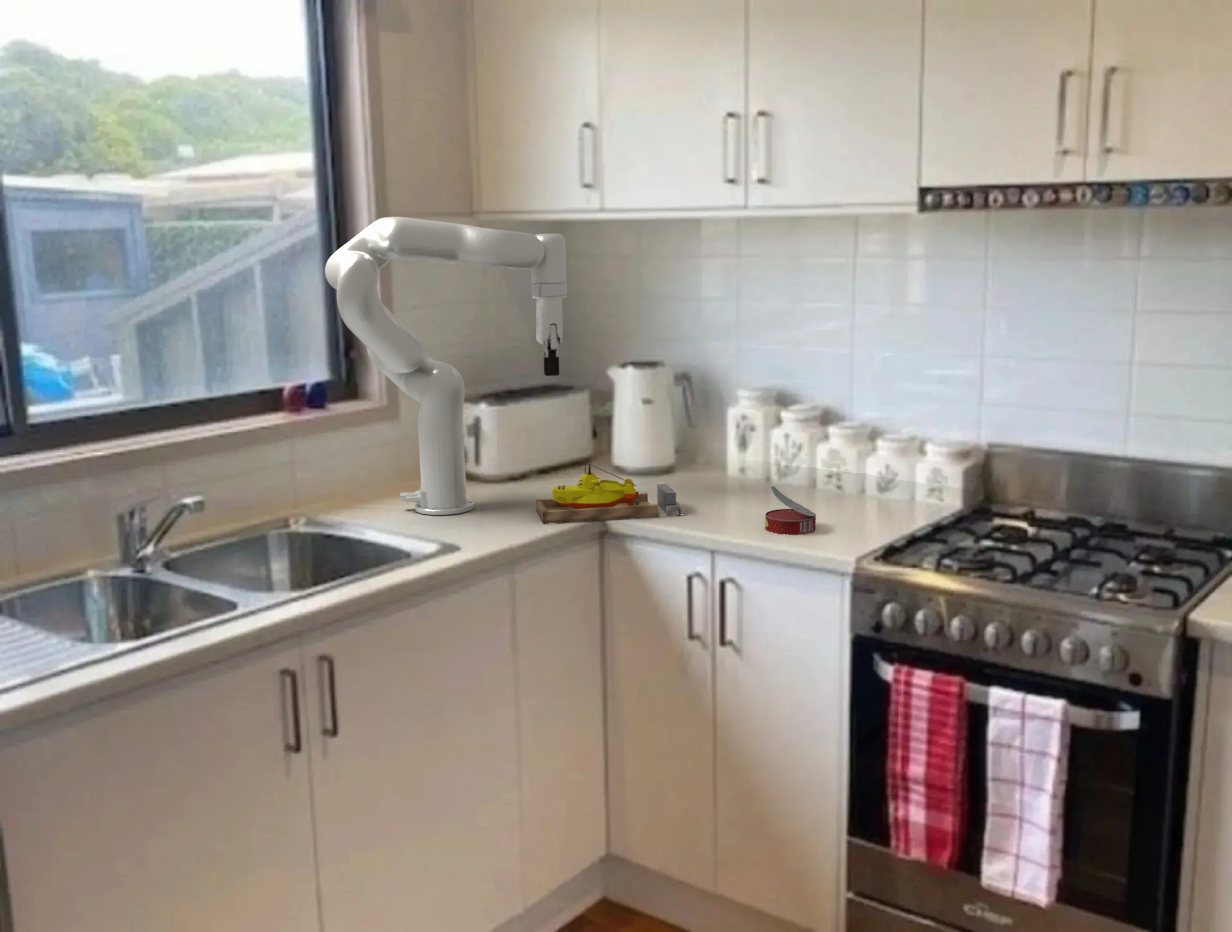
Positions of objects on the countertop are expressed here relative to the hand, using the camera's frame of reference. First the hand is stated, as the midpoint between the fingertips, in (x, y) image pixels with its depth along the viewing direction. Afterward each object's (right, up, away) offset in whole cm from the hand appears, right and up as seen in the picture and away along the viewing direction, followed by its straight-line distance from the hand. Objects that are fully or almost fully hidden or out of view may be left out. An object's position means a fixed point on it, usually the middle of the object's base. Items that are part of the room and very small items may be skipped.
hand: (551, 375), depth 267 cm
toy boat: (+10, -30, -14) cm, 34 cm away
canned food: (+49, -33, -29) cm, 65 cm away
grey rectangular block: (+25, -29, -11) cm, 40 cm away
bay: (+12, -29, -9) cm, 33 cm away
